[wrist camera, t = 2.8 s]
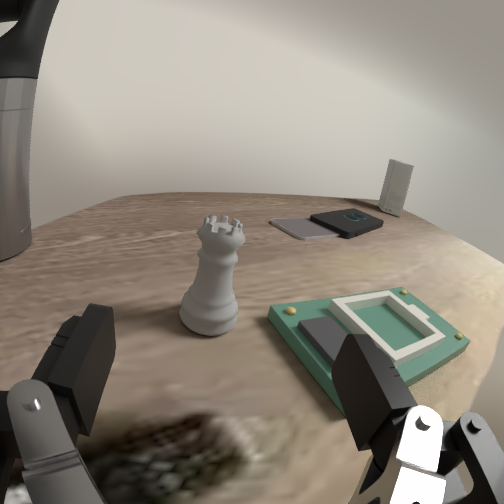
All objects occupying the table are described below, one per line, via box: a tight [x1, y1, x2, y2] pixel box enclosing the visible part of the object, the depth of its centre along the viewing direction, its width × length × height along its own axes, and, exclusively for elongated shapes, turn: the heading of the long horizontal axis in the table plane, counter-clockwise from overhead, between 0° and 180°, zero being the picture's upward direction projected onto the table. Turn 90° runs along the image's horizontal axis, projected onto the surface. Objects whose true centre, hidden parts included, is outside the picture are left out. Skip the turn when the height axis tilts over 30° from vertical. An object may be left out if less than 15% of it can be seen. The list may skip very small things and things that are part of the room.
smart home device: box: [310, 209, 384, 239], centre depth 58 cm, size 8×2×20 cm
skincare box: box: [378, 159, 414, 217], centre depth 78 cm, size 8×6×15 cm
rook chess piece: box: [179, 215, 245, 336], centre depth 22 cm, size 4×4×8 cm
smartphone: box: [271, 218, 340, 240], centre depth 51 cm, size 7×1×15 cm
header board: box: [267, 287, 470, 417], centre depth 24 cm, size 18×11×2 cm, turn 115°
